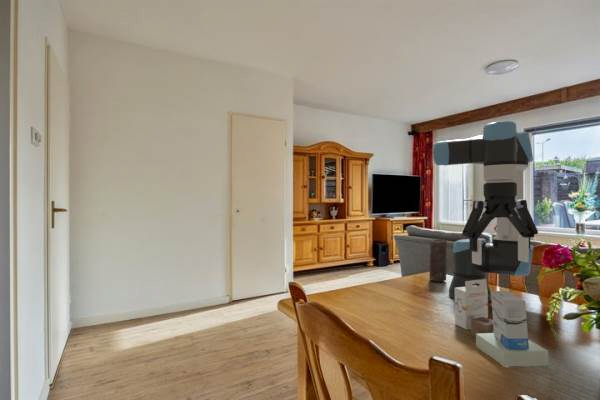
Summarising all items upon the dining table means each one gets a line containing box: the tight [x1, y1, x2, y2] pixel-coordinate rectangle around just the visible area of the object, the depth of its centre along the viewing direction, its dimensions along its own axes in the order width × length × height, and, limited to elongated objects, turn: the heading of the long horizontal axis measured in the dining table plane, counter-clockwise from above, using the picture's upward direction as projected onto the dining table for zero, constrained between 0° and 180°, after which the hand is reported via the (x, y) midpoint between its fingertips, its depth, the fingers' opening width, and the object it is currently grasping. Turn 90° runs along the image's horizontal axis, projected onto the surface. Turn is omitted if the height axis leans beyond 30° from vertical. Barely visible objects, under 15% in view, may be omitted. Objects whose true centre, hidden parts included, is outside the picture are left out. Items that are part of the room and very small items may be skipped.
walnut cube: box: [470, 317, 494, 339], centre depth 94 cm, size 5×5×5 cm
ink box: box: [490, 290, 529, 349], centre depth 83 cm, size 8×5×12 cm, turn 170°
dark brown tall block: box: [429, 238, 448, 283], centre depth 157 cm, size 8×7×20 cm
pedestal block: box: [475, 333, 549, 368], centre depth 84 cm, size 11×11×4 cm
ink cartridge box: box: [454, 278, 489, 330], centre depth 103 cm, size 9×5×15 cm, turn 106°
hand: (500, 262), depth 87 cm, fingers open, 13 cm apart
